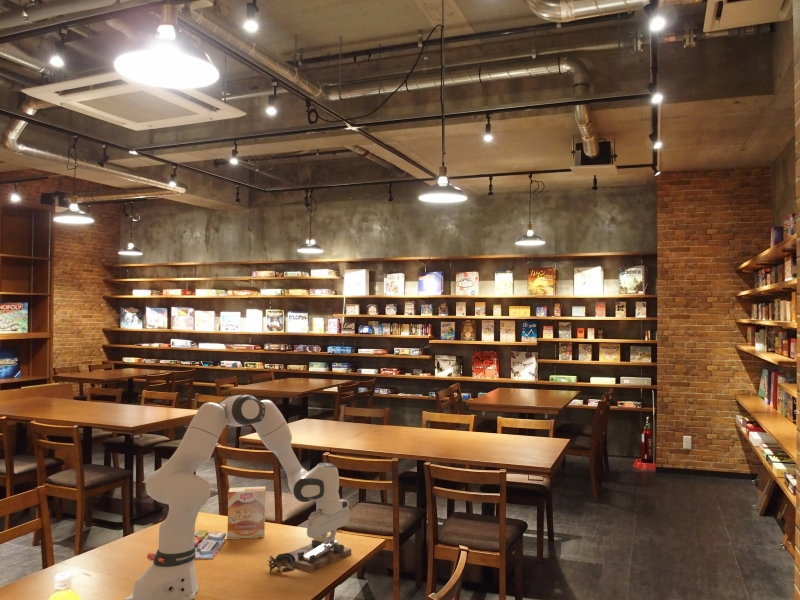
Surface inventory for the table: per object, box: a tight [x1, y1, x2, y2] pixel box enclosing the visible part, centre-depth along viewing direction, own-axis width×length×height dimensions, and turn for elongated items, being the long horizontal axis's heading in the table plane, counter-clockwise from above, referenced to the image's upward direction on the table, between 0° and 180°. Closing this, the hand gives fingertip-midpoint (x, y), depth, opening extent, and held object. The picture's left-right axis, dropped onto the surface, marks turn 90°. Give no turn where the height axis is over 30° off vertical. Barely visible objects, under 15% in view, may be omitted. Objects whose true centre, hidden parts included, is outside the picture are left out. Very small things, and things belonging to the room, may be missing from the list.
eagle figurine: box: [267, 552, 296, 574], centre depth 224 cm, size 8×7×9 cm
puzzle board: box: [154, 529, 227, 560], centre depth 249 cm, size 30×23×3 cm
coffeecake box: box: [226, 486, 266, 540], centre depth 261 cm, size 15×7×20 cm, turn 101°
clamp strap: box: [302, 539, 339, 561], centre depth 234 cm, size 16×4×1 cm, turn 143°
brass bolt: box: [313, 534, 330, 543], centre depth 243 cm, size 3×6×3 cm, turn 53°
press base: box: [288, 539, 352, 573], centre depth 237 cm, size 22×16×4 cm
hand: (329, 542), depth 238 cm, fingers closed
